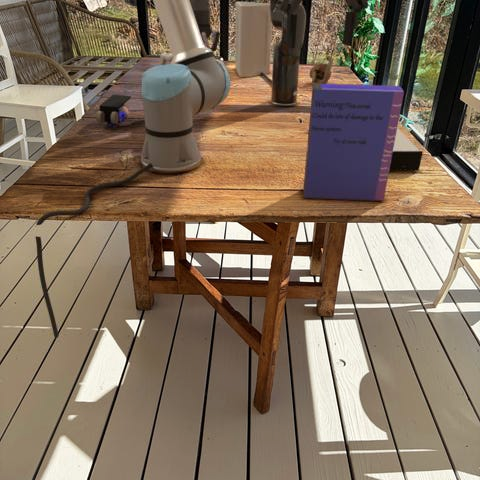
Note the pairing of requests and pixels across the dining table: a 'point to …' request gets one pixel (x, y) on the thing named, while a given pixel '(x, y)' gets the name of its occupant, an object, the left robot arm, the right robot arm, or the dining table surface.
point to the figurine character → (113, 110)
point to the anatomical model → (321, 71)
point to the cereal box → (351, 141)
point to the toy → (168, 57)
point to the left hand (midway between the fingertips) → (319, 46)
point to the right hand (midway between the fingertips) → (199, 65)
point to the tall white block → (253, 38)
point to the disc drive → (405, 154)
